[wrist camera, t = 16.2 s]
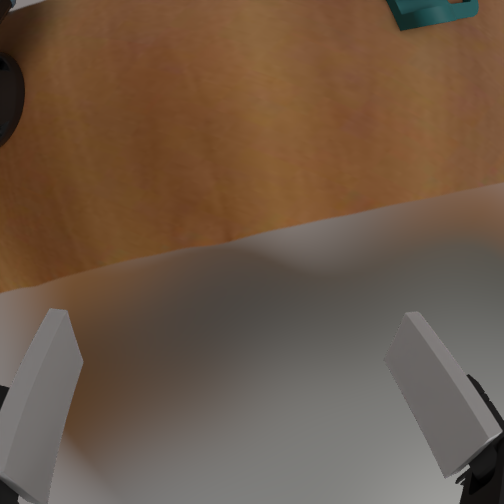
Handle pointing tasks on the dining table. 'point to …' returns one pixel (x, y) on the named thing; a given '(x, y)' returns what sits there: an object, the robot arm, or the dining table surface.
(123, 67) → the dining table surface
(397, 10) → the bracket
